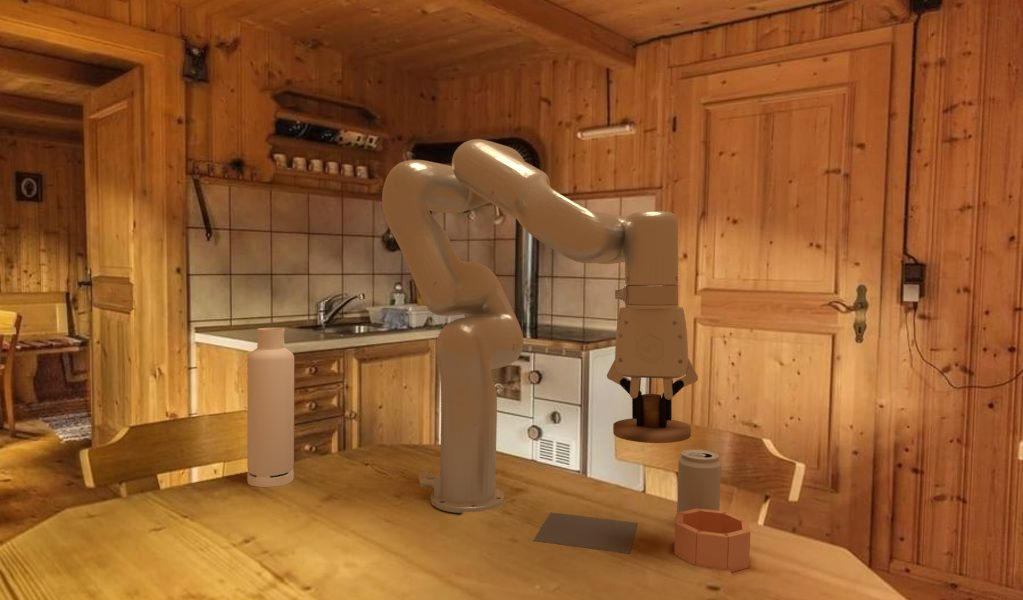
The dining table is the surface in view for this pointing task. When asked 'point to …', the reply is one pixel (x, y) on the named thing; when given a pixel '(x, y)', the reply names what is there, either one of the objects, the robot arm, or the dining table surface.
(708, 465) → the beverage can
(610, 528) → the mat
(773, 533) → the dining table surface
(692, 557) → the bowl
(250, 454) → the bottle
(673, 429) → the lid
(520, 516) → the dining table surface
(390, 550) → the dining table surface
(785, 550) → the dining table surface
